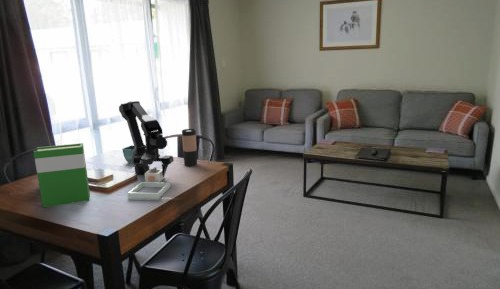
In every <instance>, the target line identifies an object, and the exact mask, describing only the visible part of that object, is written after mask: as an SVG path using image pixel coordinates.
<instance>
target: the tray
mask: <svg viewBox="0 0 500 289" xmlns="http://www.w3.org/2000/svg"><path fill="white" fill-rule="evenodd" d="M143 188H161V189H159V190H158V191H157V192H139V191H140V190H141V189H143ZM170 188H171V182H164V183H163V182H145V181H140V182H139V183H138V184H136V186H134V187H133V188H131V189H130V190H129V191H128V192H127V200H135V201H137V200H138V201H160V200H161V199H162V198H163V197H164V196H163V195H164V194H165V193H166V192H167V191H168V190H169V189H170Z"/></svg>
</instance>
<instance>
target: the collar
mask: <svg viewBox="0 0 500 289" xmlns="http://www.w3.org/2000/svg"><path fill="white" fill-rule="evenodd" d="M152 169H153V168H150V170H148V171H147V172H146V173H145V175H144V182H160V181H161V180H163V179H164V178H165V176H164V177H163V175H162V168H157V169H156V172H157V173H152Z"/></svg>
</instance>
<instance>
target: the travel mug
mask: <svg viewBox="0 0 500 289" xmlns="http://www.w3.org/2000/svg"><path fill="white" fill-rule="evenodd" d="M196 132H197V131H196V130H195V129H194V128H185V129H182V130H181V135H182V136H181V138H182V153H183V162H184V165H183V166H184V167H195V166H197V165H198V150H197V147H198V146H197V133H196Z"/></svg>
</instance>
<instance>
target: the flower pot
mask: <svg viewBox="0 0 500 289" xmlns="http://www.w3.org/2000/svg"><path fill="white" fill-rule="evenodd" d="M133 150H134V144H132V145H129V146H126V147H123V148H122V154H123V157H124V160H125V161H126V162H127V164H132V163H131V159H132V157H133Z"/></svg>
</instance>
